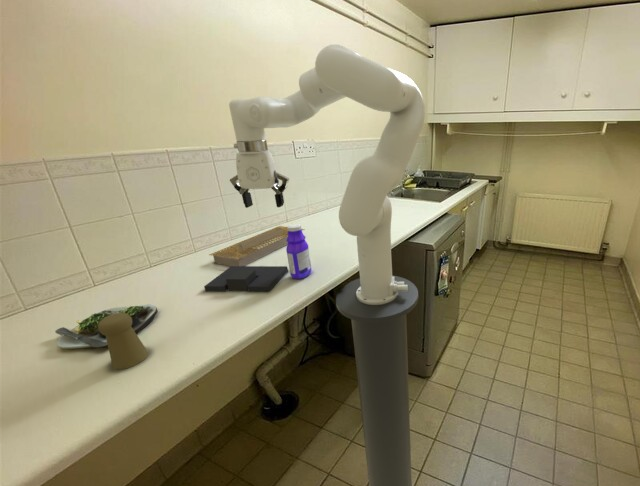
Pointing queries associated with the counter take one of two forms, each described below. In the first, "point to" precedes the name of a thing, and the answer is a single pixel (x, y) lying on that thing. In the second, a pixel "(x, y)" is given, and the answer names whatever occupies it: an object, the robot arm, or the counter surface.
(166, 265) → the counter surface
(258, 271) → the base pad
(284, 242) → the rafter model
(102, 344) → the salad plate
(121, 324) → the cork
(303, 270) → the bottle
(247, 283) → the black square block
